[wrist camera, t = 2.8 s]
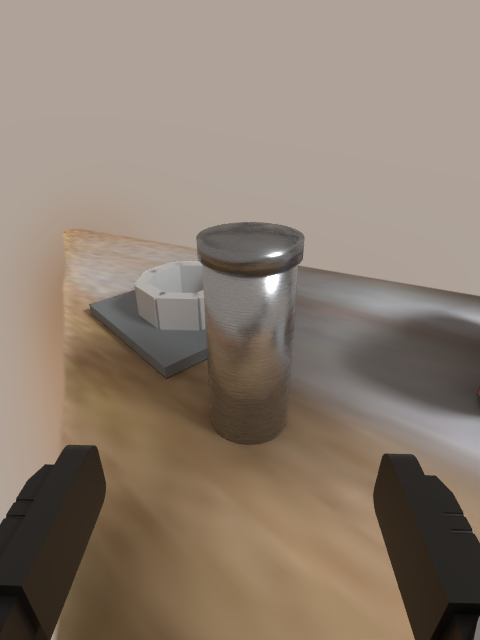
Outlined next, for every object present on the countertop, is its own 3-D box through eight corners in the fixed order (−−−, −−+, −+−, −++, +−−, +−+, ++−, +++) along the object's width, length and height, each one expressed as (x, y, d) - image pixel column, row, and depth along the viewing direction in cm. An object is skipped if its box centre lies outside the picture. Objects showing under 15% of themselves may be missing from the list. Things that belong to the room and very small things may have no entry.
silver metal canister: (250, 379, 28) (252, 217, 22) (307, 417, 25) (326, 236, 19) (191, 412, 25) (175, 235, 19) (245, 462, 21) (246, 262, 16)
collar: (204, 277, 45) (202, 244, 44) (291, 318, 36) (294, 279, 34) (91, 313, 37) (83, 275, 35) (166, 378, 28) (160, 332, 26)
